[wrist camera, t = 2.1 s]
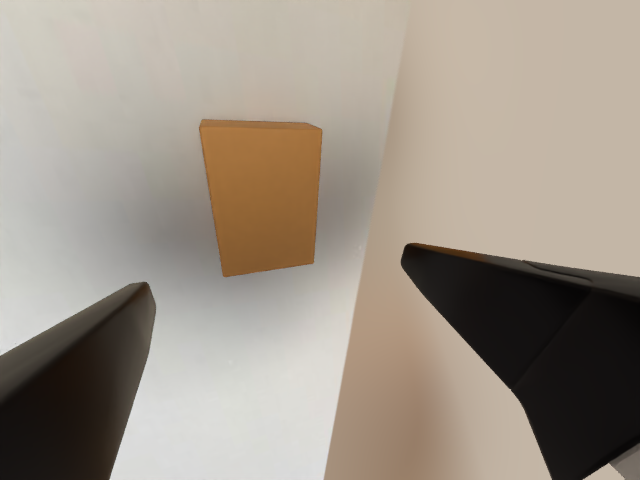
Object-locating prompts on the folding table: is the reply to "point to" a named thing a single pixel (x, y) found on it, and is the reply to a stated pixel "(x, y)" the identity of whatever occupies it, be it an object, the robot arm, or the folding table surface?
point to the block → (262, 192)
